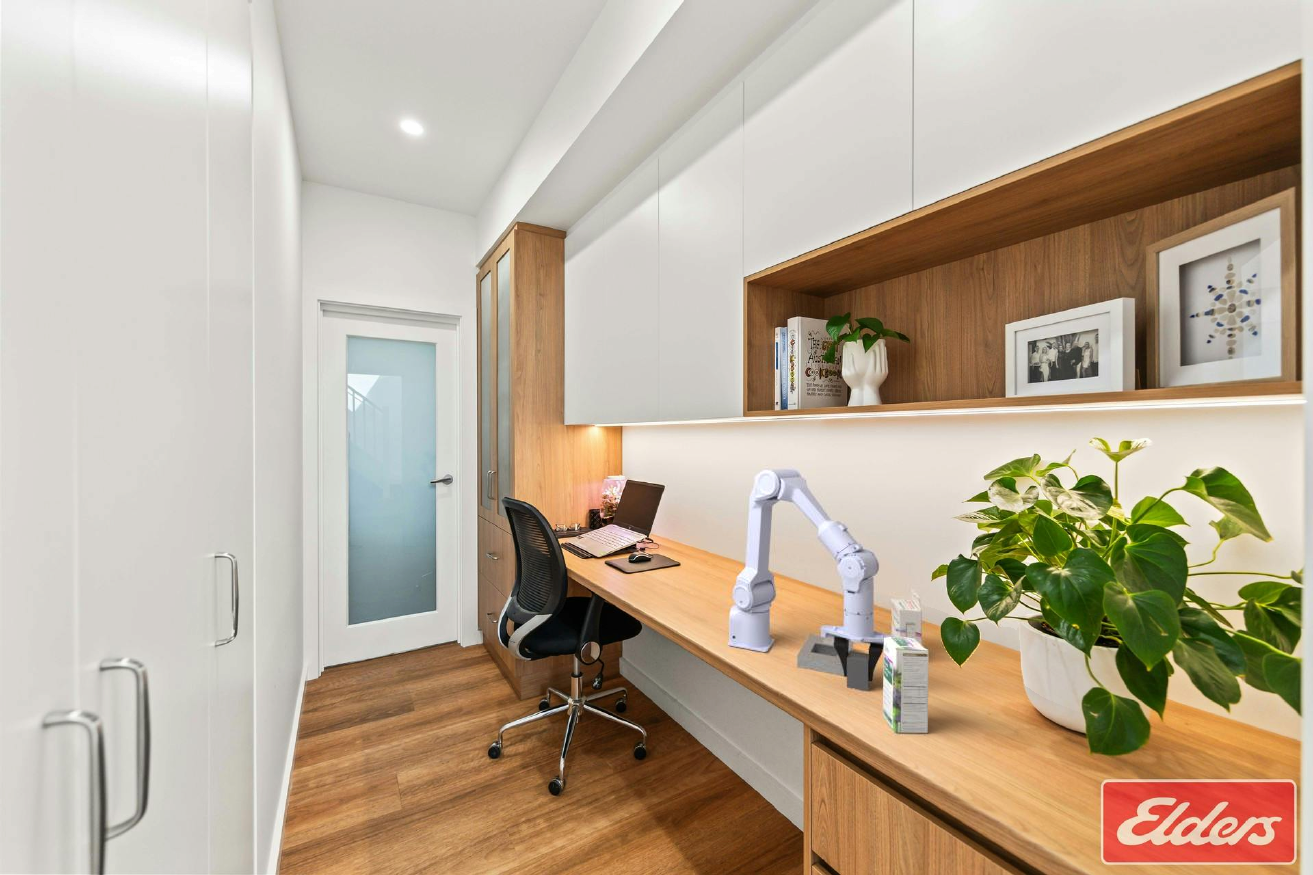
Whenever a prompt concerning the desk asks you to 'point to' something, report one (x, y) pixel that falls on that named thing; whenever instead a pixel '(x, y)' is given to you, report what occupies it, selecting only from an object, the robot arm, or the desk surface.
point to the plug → (858, 670)
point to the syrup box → (905, 685)
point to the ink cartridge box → (907, 617)
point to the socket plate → (821, 655)
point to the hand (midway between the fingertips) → (858, 677)
